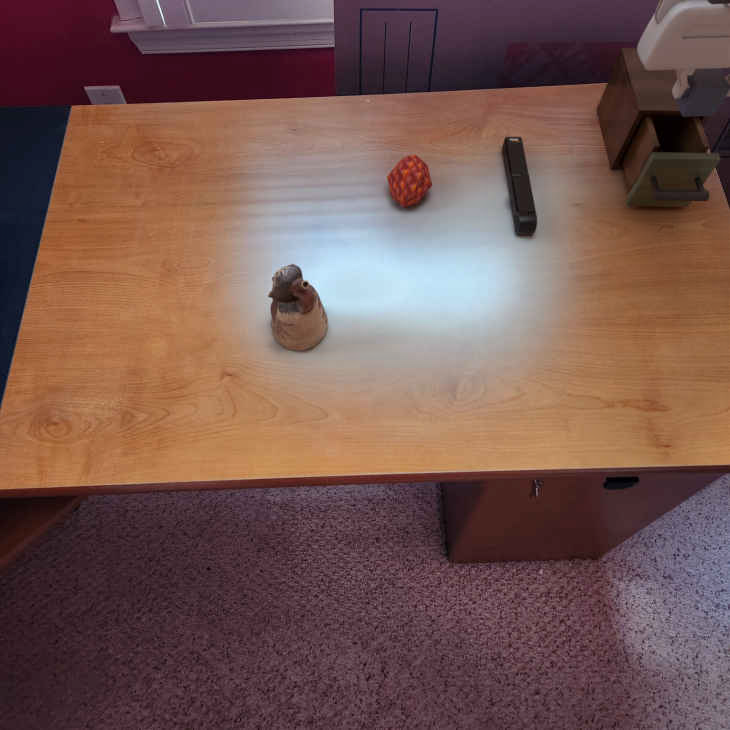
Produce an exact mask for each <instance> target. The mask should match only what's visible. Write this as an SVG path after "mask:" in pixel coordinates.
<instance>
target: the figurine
mask: <svg viewBox="0 0 730 730" xmlns="http://www.w3.org/2000/svg"><path fill="white" fill-rule="evenodd" d="M271 280H272V288H271V291H269V293H268V295H267V298H271V299H272V301H271V304H270V316H271V320H270V326H271V333H272V335H273V337H274V339H275V340H276V341H277V342H278V343H279V344H280V345H281V346H283V347H284V348H286V349H288V350H292V351H307V350H310V349H313V348H315V347H316V346H317V345H319V343H321V342H322V340H323V339H324V337H325V336H326V334H327V330H328V326H329V325H328V324H329V323H328V316H327V312H326V310H325V307H324V305H323V303H322V300H321V297H320V294H319V292H318V291H317V290H316V289H315V287H314V286H313V285H311V284H310V283H309V281H308V280H306V279H305V280H304V276H303V272H302V269H301V268H300V266H299V265H296V264H294V263H290V264H287V265H285V266H283V267H281V268H279V269H277V270H276V272H274V275H273V277H272V278H271Z"/></svg>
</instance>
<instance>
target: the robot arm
mask: <svg viewBox="0 0 730 730" xmlns="http://www.w3.org/2000/svg"><path fill="white" fill-rule="evenodd" d="M636 48H637V52H638V55H639V58H640V60H641V62H642V64H643V66H644V68H645V69H646V70H676V74H677V81H676V83H675V85H674V87H673V89H672V93H673V96H674V98H675V99H676V98H687V97H688V96H689V93H690V92H691V91H692V89H693V85H692V83H690V82H691V81H690V79H689V78H687V75H692V74H693V73H694V71H695V69H710V68H721V69H730V0H659V2H658V4H657V7H656V9H655V12H654V14H653V15H652V17H651V19H650V20H649V22H648V24H647V26H646V27H645V29H644V31H643V33H642V35H641V37H640V39H639V41H638V43H637V46H636ZM725 77H726V79H727V81H728V83H729V85H730V73H729V74H727V75H725ZM725 98H730V90H729V92H728V93H727V95H726V97H725Z"/></svg>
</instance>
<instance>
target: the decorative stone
mask: <svg viewBox="0 0 730 730" xmlns="http://www.w3.org/2000/svg"><path fill="white" fill-rule="evenodd" d="M386 178H387V183H388V188H389V191H390V196H391V198H392V199H393V200H394V201H395V202H396V203H398V204H399V205H400V206H401V208H405V207H409V206H413V205H415V204H418V203H419V202H420V201H421V200H422V198H424V196H425V195H426V194H427V192H428V191H430V189H431V188H432V186H433V182H432V178H431V173H430V170H429V165H428V164H427V163H426V162H425V161H424V160H423V159H422V158H421V157H419V155H417V154H411V155H410V154H409V155H406V156H405V157H403V158H402V159H400V160H399V161H398V162H397V164H396V165H395V166H394V167H393V168H392V170H391V171H390V172H389V173H388V174H387V175H386Z"/></svg>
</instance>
